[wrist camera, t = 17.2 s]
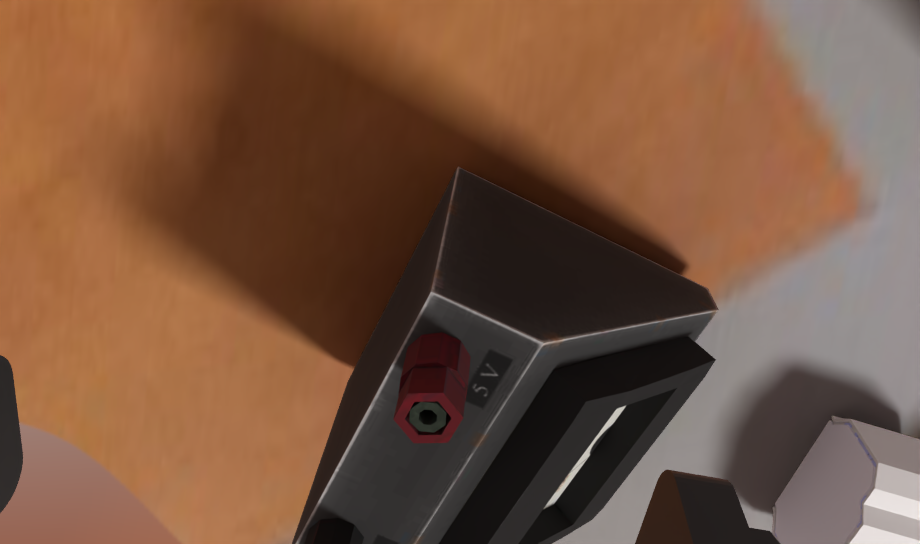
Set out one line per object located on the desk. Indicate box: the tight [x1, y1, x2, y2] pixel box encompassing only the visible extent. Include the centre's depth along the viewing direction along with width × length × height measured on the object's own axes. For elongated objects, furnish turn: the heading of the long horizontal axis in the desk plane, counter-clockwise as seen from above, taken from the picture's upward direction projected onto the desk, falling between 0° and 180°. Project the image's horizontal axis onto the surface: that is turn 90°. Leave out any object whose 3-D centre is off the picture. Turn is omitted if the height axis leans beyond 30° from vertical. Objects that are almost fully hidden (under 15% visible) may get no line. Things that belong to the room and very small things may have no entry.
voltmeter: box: [292, 167, 718, 544], centre depth 39 cm, size 16×16×20 cm
